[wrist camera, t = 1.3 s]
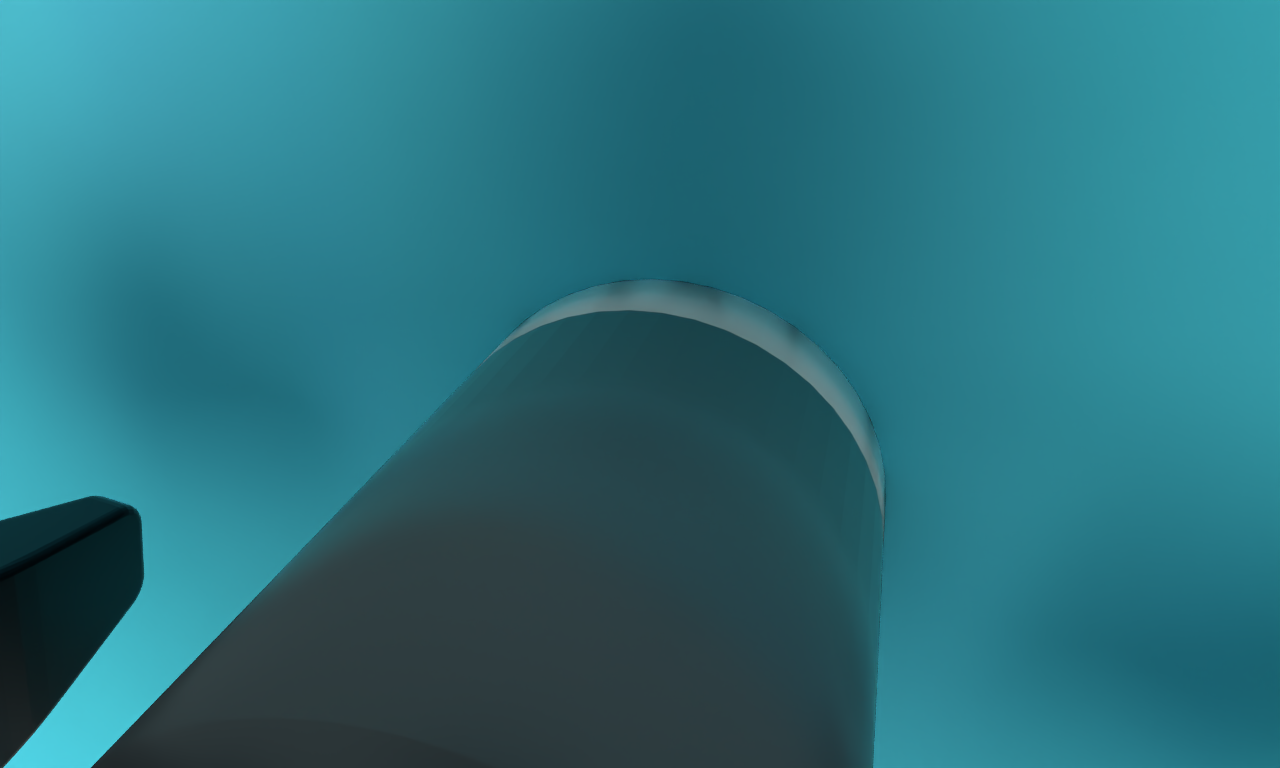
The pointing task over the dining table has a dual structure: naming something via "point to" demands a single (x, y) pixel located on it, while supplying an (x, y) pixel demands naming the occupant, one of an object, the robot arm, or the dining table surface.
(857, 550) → the lens
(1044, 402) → the dining table surface
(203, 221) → the dining table surface
